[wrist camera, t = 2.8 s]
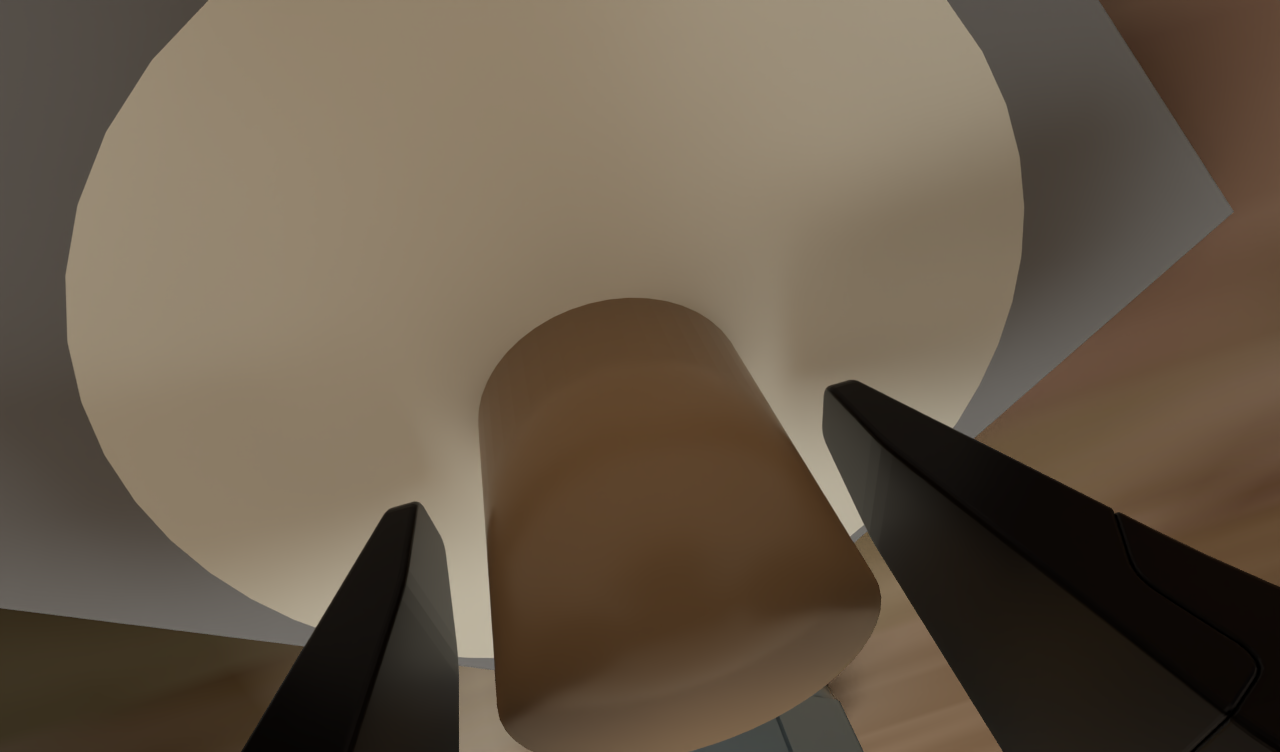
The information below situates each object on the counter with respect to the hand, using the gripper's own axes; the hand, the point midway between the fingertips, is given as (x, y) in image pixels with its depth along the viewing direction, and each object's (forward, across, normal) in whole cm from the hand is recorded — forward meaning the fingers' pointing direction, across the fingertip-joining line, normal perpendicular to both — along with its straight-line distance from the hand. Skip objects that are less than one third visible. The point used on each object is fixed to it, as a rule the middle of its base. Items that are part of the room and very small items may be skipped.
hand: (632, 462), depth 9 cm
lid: (+2, 0, 0) cm, 2 cm away
